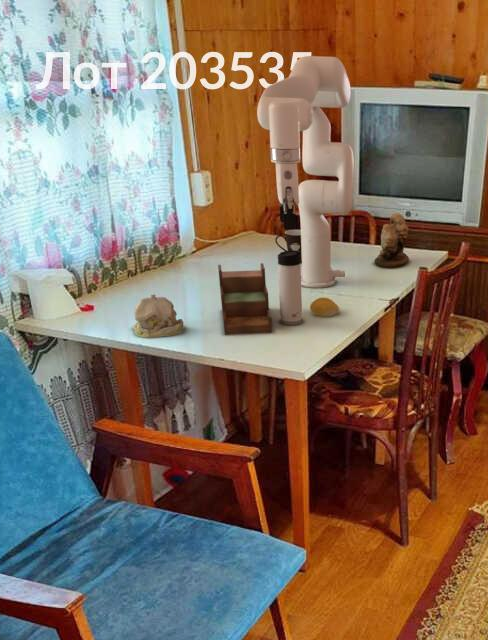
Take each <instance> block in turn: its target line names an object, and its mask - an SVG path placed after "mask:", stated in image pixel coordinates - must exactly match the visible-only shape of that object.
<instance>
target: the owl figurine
mask: <svg viewBox="0 0 488 640" xmlns="http://www.w3.org/2000/svg"><path fill="white" fill-rule="evenodd" d="M389 218H390V219H389V221H390V223H385V224H383V226H382V229H381V234H380V247H381V250H379V254H378V255H377V257H376V258H375V259H374V265H375V266H377V267H379V268H383V269H397V268H398V269H399V268H401V267H405V266H406V265H407V264H408V263H409V261H410V257H409V256H408V255H407V254H406V253H405V252H404V249H405V246H406V242H407V241H408V236H409V226H408V225H407V224H406V223H407V222H406V220H405V217H404V216H403V215H402V214H400V213H398V212H393V213H392V214H391V215H390V217H389Z"/></svg>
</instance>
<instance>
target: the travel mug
mask: <svg viewBox="0 0 488 640" xmlns="http://www.w3.org/2000/svg"><path fill="white" fill-rule="evenodd" d="M300 255H301V251H297V250H291V251H288V250H287V251H284V250H283V251H281V252H280V253H278V254H277V270H278V272H277V274H278V275H277V276H278V294H279V295H278V296H279V297H278V299H279V315H280V317H279V318H280V320H279V321H280V323H282V325H285V326H296V325H297V326H298V325H300V324H302V323H303V301H302V299H303V298H302V285H301V276H302V263H300Z"/></svg>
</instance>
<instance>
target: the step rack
mask: <svg viewBox="0 0 488 640" xmlns="http://www.w3.org/2000/svg"><path fill="white" fill-rule="evenodd" d="M217 267H218V268H217V269H218V277H219V278H218V282H219V291H220V301H221V302H220V303H221V313H222V321H223V332H224V335H225V336H226V335H228V336H229V335H246V334H247V335H249V334H264V333H265V334H269V333H272V332H273V330H272V329H273V326H272V325H273V324H272V315H271V312H270V303H269V292H268V288H267V283H266V282H267V281H266V268H265V265H264V263H263V262H261V263H260V270H259V269H258V270H231V271H227V270H226V271H222V265H221V264H217Z"/></svg>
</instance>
